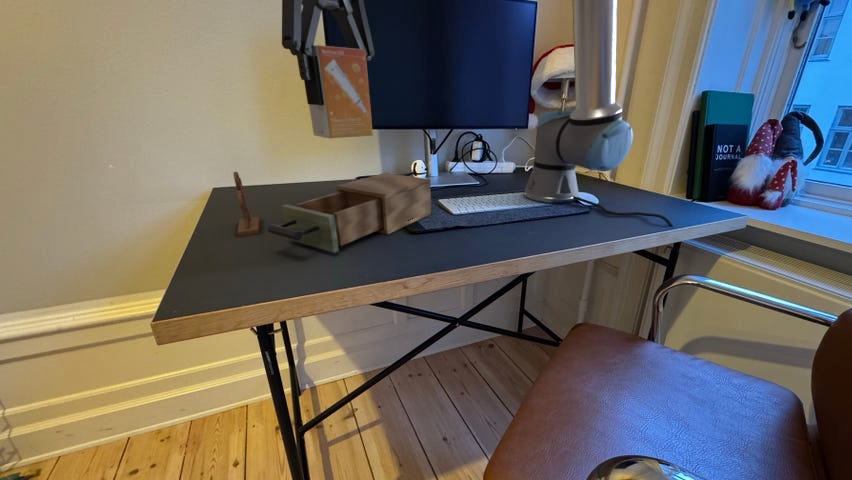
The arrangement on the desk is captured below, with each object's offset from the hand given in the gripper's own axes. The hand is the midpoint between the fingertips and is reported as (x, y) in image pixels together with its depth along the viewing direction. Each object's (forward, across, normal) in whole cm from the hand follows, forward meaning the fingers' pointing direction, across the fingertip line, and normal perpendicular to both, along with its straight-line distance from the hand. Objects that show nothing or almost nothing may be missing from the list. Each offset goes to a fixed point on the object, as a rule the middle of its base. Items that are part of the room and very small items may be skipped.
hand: (339, 103), depth 61 cm
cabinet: (+25, +16, +5) cm, 31 cm away
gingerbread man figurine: (+26, -5, +27) cm, 37 cm away
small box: (+5, 0, 0) cm, 5 cm away
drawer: (+25, -1, +6) cm, 25 cm away
